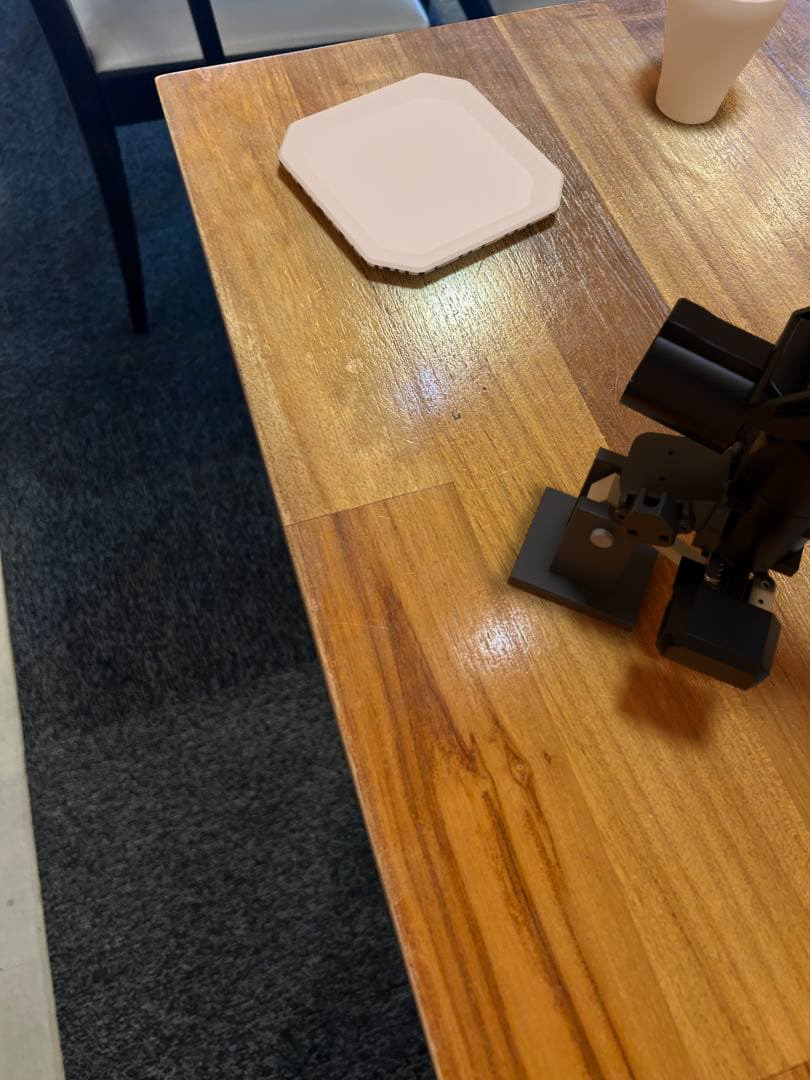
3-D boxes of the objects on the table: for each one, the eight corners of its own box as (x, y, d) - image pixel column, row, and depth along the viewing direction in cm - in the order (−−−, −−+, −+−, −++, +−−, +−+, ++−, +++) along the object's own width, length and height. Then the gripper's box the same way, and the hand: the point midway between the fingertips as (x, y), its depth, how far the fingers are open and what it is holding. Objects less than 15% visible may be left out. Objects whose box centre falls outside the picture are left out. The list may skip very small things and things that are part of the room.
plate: (581, 213, 84) (587, 193, 82) (388, 305, 78) (389, 286, 76) (446, 80, 92) (449, 59, 90) (259, 153, 85) (258, 132, 83)
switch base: (660, 539, 69) (707, 465, 60) (630, 632, 65) (675, 568, 57) (543, 494, 70) (573, 415, 62) (507, 583, 66) (533, 513, 58)
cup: (621, 122, 91) (664, -19, 79) (645, 58, 95) (690, -84, 84) (728, 153, 89) (788, 16, 78) (748, 87, 94) (807, -52, 82)
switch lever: (718, 577, 66) (752, 566, 63) (707, 613, 64) (742, 604, 62) (590, 480, 62) (620, 465, 60) (576, 516, 61) (607, 502, 58)
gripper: (698, 303, 57) (623, 447, 71) (609, 555, 48) (544, 664, 62) (879, 369, 56) (768, 503, 69) (822, 640, 47) (707, 732, 61)
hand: (696, 593), depth 65 cm, fingers closed on switch lever, 3 cm apart
